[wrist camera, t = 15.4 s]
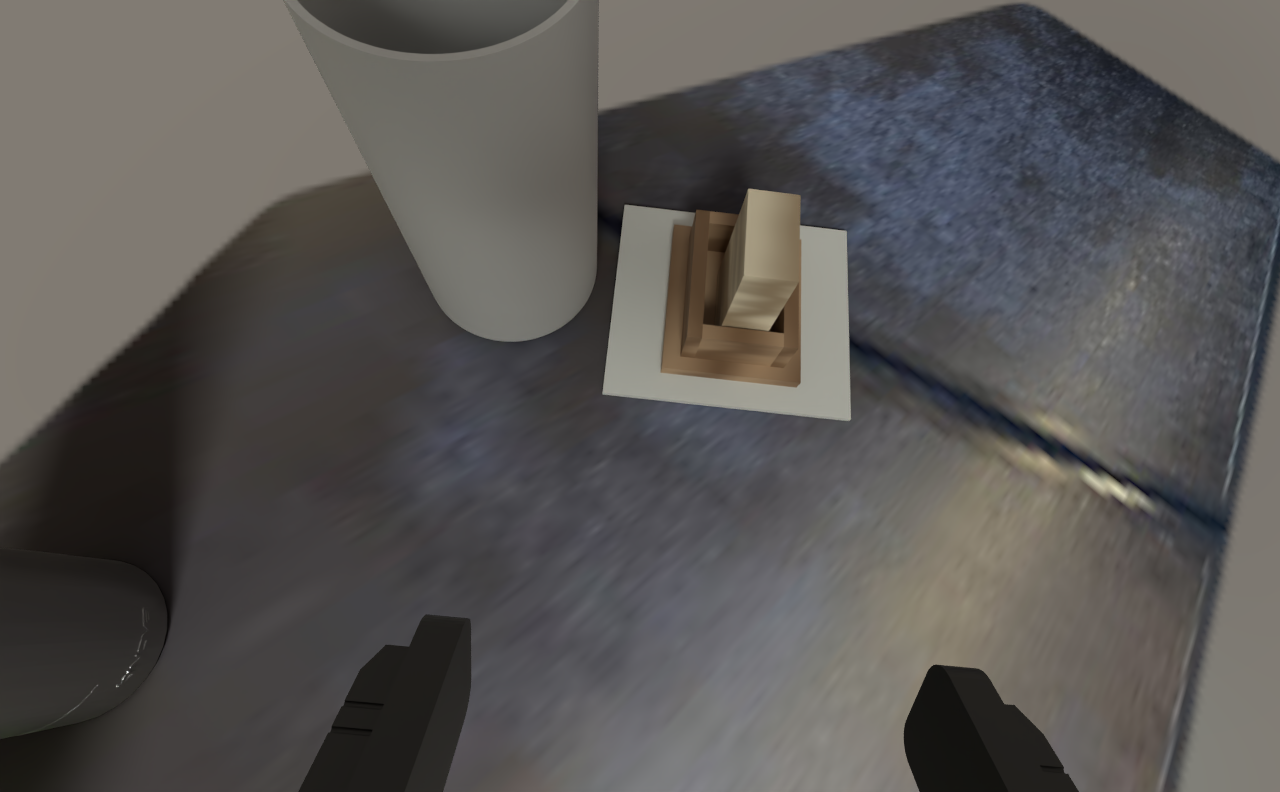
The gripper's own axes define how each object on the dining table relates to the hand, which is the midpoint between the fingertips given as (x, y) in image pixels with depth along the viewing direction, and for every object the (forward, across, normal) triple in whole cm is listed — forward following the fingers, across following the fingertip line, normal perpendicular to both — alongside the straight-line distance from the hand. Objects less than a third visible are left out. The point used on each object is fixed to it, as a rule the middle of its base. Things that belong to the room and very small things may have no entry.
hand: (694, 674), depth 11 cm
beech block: (+37, -6, +5) cm, 38 cm away
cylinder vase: (+39, +11, +4) cm, 41 cm away
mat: (+38, -6, +5) cm, 39 cm away
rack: (+38, -6, +5) cm, 39 cm away
